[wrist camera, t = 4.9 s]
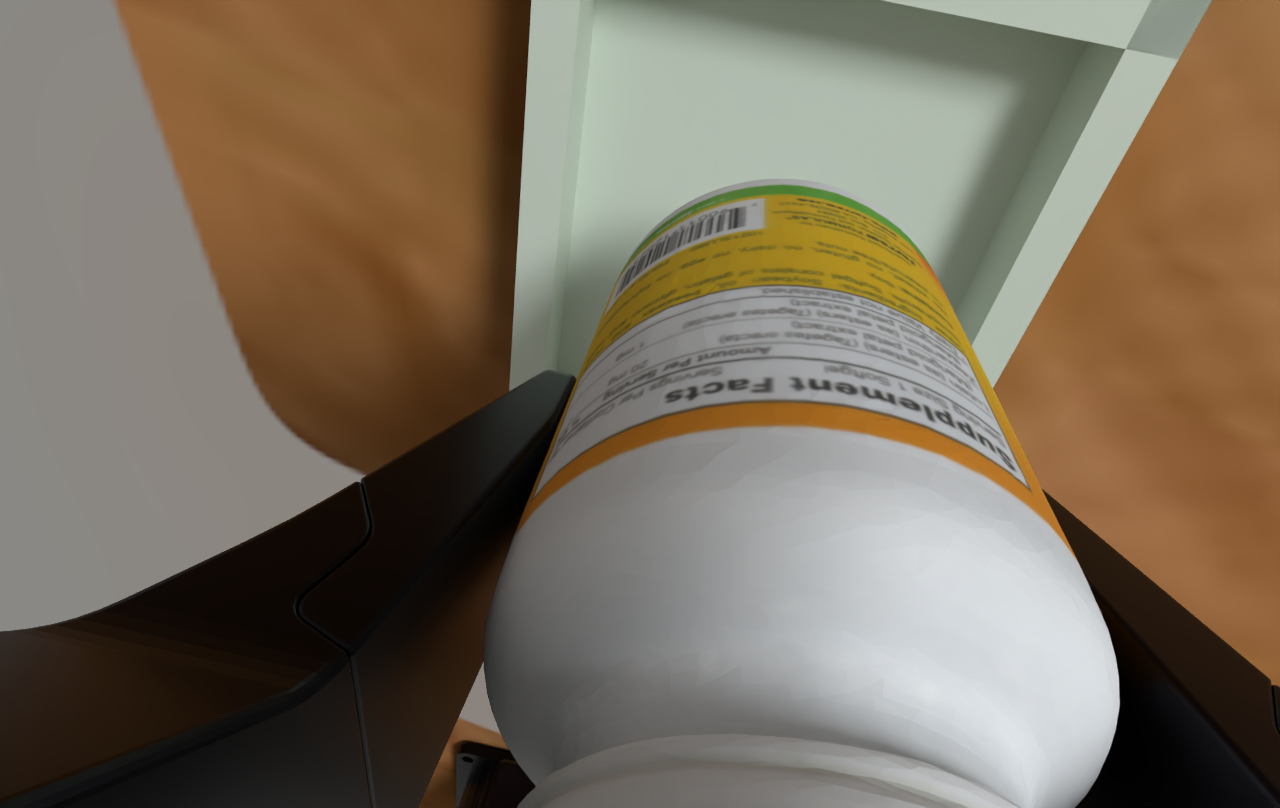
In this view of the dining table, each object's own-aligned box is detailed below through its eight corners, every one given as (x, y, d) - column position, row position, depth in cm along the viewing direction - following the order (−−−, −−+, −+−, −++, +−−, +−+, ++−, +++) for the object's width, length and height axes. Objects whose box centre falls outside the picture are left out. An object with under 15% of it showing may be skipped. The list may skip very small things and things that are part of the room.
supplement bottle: (850, 488, 13) (974, 1298, 6) (582, 406, 13) (317, 1125, 5) (1008, 233, 10) (1818, 1266, 2) (660, 120, 10) (298, 843, 2)
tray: (902, 470, 18) (915, 525, 17) (529, 389, 18) (506, 435, 17) (1149, -13, 12) (1212, -1, 10) (569, -128, 12) (538, -134, 10)
